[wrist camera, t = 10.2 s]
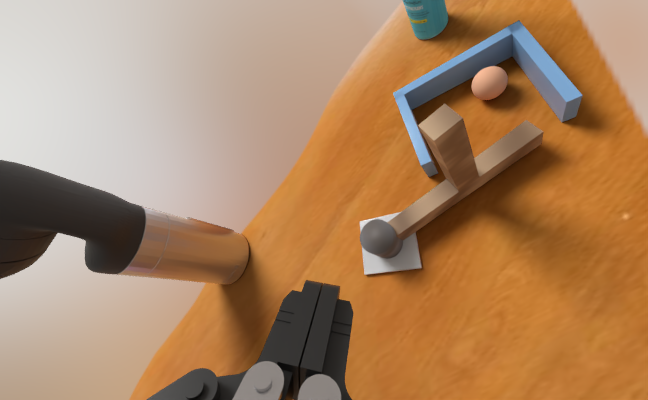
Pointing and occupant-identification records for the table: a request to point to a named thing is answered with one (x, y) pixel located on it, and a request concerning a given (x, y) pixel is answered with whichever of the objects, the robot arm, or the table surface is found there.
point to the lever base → (402, 261)
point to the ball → (489, 83)
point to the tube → (427, 17)
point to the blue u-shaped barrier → (470, 62)
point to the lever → (449, 176)
